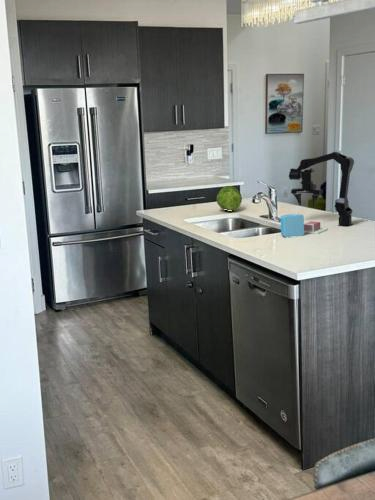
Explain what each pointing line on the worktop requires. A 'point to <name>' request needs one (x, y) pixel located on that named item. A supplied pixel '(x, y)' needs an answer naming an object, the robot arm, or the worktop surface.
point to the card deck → (311, 226)
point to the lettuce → (229, 198)
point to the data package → (292, 225)
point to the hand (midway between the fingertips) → (307, 205)
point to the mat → (316, 231)
